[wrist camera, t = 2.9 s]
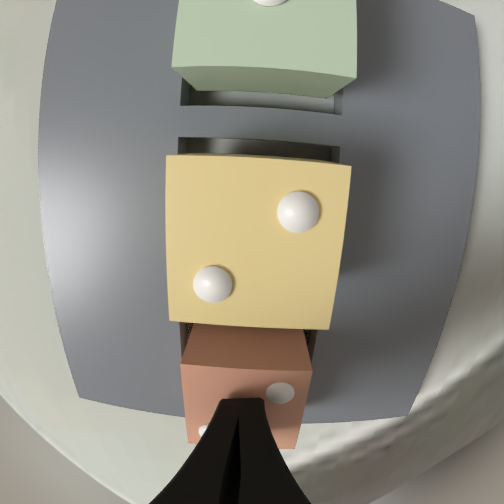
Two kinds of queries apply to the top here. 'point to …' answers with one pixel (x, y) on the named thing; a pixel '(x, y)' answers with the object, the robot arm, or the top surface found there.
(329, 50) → the tile one pip
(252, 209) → the tile two pips
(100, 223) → the grey slotted tray
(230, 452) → the robot arm
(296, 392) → the tile three pips
